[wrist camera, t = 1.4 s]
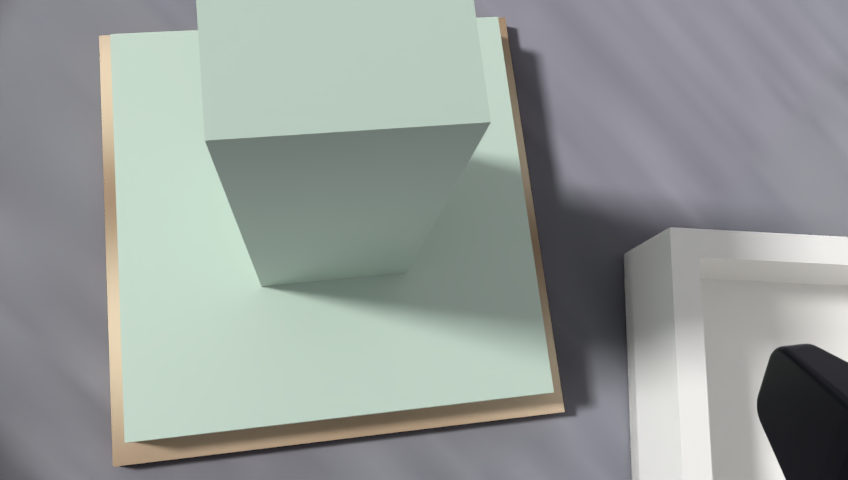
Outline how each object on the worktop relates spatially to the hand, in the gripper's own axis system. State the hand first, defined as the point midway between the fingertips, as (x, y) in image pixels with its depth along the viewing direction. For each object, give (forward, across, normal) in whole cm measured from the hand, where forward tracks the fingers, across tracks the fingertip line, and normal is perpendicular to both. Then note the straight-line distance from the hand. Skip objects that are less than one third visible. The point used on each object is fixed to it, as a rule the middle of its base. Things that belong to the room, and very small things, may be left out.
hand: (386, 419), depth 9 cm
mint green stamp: (+12, 0, +4) cm, 12 cm away
